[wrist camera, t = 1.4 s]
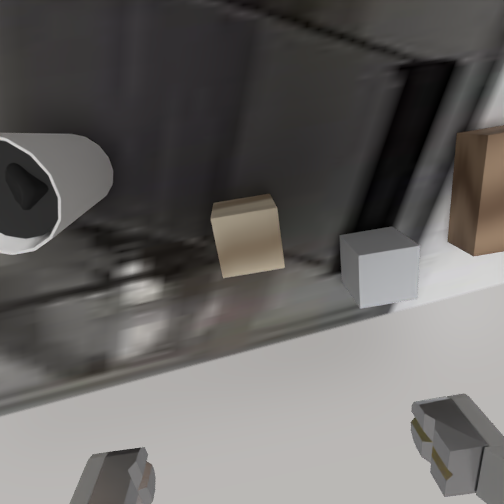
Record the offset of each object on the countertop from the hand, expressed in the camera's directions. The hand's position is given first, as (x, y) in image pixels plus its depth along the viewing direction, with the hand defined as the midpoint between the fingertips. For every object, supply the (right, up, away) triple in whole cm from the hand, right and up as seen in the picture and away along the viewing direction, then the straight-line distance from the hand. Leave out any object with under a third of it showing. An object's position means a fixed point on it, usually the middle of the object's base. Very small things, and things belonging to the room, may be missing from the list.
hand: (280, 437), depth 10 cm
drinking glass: (-15, +12, +17) cm, 26 cm away
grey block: (+10, +5, +22) cm, 25 cm away
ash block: (-1, +8, +20) cm, 21 cm away
